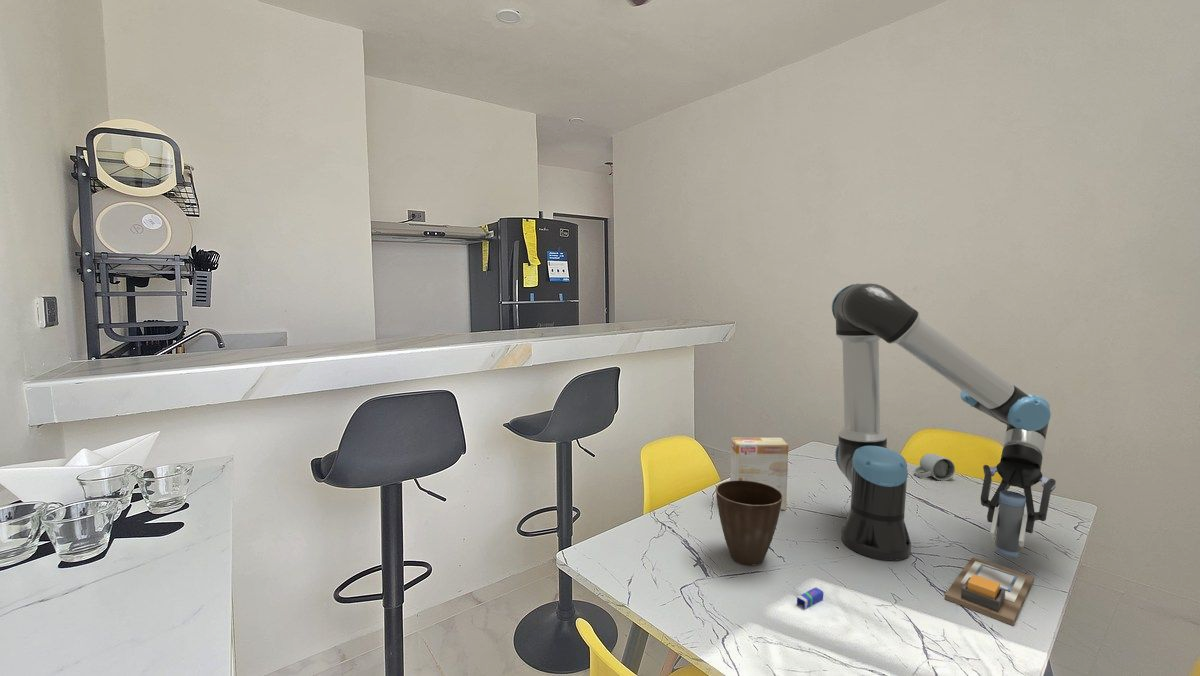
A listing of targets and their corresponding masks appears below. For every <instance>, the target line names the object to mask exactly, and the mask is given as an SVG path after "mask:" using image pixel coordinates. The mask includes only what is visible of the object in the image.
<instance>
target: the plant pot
mask: <svg viewBox="0 0 1200 676" xmlns="http://www.w3.org/2000/svg"><path fill="white" fill-rule="evenodd" d="M715 494H716V502H717V509H718V515H719V520H720V525H721V529H722V533H723V537H724V540H725V543H726V546H727V549H728V552H729V555H730V557H731V559H733V561H734V562H737V563H739V564H741V565H747V566H756V565H757V566H758V565H760V564H762V563H763V562H764V559H765V557H766V555H767V553H768V551H769V549H770V547H771V543H772V540H773V539H774V538H773V537H774V535H775V532H776V529H777V525H778V521H779V516H780V513H781V510H780V508H781V502H782V494H781V492H780V491H778V490H777V489H775V488H773V487H771V486H769V485H766V484H763V483H758V482H753V481H742V480H736V481H730V480H728V481H724V482H722V483H720V484H717V486H716V488H715Z"/></svg>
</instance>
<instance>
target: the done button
mask: <svg viewBox="0 0 1200 676" xmlns="http://www.w3.org/2000/svg"><path fill="white" fill-rule="evenodd" d="M967 589H968V590H970V591H973V592H976V593H978V594H981V595H984V596H987V597H989V598H992V599H995V600H996V598H997V596H998V594H999V590H1000V583H998V582H995V581H992V580H989V579H986V578H983V577H981V576H978V575H975V574H973V575H972V577H971V578H970V580H969V581H968V587H967Z"/></svg>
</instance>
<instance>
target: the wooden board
mask: <svg viewBox="0 0 1200 676" xmlns="http://www.w3.org/2000/svg"><path fill="white" fill-rule="evenodd" d="M973 574H975V575H978V576H981V577H983V578H986V579H989V580H992V581H995V582H998V583H1000V590H999V594H998V596H997V598H996V600H995V599H992V598H989V597H987V596H984V595H981V594H978V593H976V592H973V591H970V590H968V589H967V587H968V581H969V580H970V578H971V577H972V575H973ZM1034 579H1035V577H1034V576H1033V575H1029V574H1027V573H1023V572H1021V571H1018V570H1015V569H1011V568H1010V567H1009V568H1008V567H1005V566H1002V565H999V564H996V563H992V562H990V561H987V560H984V559H981V558H977V557H974V556H971V558H970V559H969V560H968V562H967V564H966V565H965V566H964V567H963V568H962V570H961V571H960V573H959V574H958V576H957V577H956V579H955V580H954V581H953V583H951V585H950V587H949V588H948V589H947V591H946V592H945V594H944V599H945V600H946V601H949V602H952V603H954V604H955V605H959V606H961V605H962V607H965V608H967V609H970V610H972V611H975V612H978V614H979V613H980V614H982V615H985V616H987V617H990V618H993V619H995V620H997V621H1000V622H1003V623H1005V624H1009V625H1010V626H1014V624H1015V623H1016V620H1017V618H1018V616H1019V614H1020V612H1021V610H1020V609H1022V607H1023V604H1024V602H1025V601H1026V598H1027V596H1028V594H1029V591H1030V589H1031V587H1032V585H1033V583H1034Z"/></svg>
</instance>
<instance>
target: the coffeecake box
mask: <svg viewBox="0 0 1200 676" xmlns="http://www.w3.org/2000/svg"><path fill="white" fill-rule="evenodd" d="M730 440H731V441H730V444H731V445H730V472H729V473H730V475H729V477H730V478H729V479H730V480H729V481H736V480H742V481H753V482H758V483H763V484H766V485H769V486H771V487H773V488H775V489H777V490H778V491H780V492H781V494H782V502H781V508H780V511H782V510H783V511H786V510H787V504H788V503H787V500H788V499H787V498H788V497H787V496H788V495H787V494H788V493H787V492H788V472H789V471H788V469H789V466H788V465H789V464H788V463H789V443H787V441H785V440H784V439H783V438H782V437H735V436H734V437H731V439H730Z"/></svg>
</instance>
